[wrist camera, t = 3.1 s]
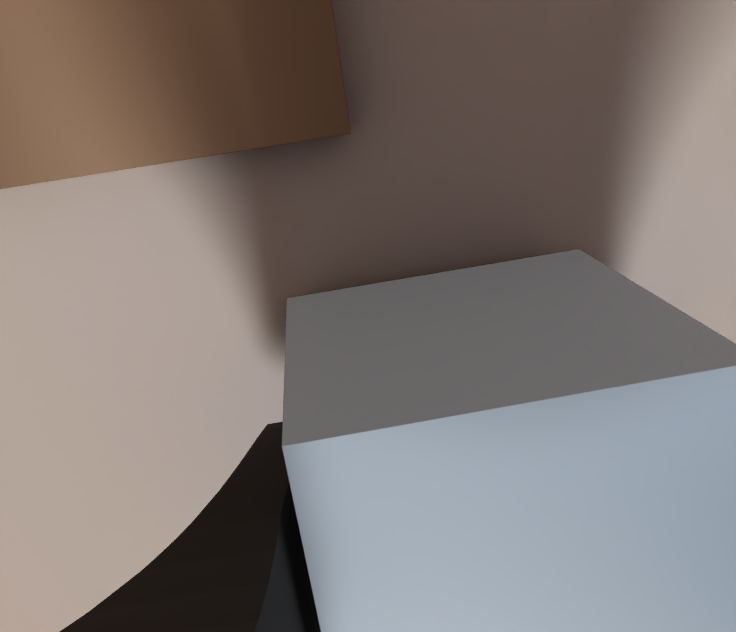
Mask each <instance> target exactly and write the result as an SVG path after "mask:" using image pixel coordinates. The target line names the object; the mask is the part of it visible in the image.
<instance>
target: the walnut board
mask: <svg viewBox="0 0 736 632" xmlns="http://www.w3.org/2000/svg"><path fill="white" fill-rule="evenodd" d="M350 133H351V131H350V125H349V118H348V111H347V105H346V98H345V91H344V84H343V78H342V71H341V64H340V58H339V51H338V44H337V38H336V31H335V24H334V17H333V11H332V4H331V0H0V189H3V188H10V187H16V186H22V185H29V184H35V183H41V182H48V181H54V180H60V179H66V178H73V177H79V176H85V175H92V174H98V173H104V172H111V171H117V170H123V169H129V168H136V167H142V166H148V165H155V164H161V163H167V162H174V161H180V160H186V159H192V158H199V157H205V156H211V155H218V154H224V153H230V152H237V151H243V150H249V149H255V148H262V147H268V146H274V145H281V144H287V143H293V142H299V141H306V140H312V139H318V138H325V137H331V136H337V135H344V134H350Z"/></svg>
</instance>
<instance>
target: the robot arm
mask: <svg viewBox="0 0 736 632" xmlns="http://www.w3.org/2000/svg"><path fill="white" fill-rule="evenodd" d="M282 429H283V422H278V423H273V424H267V426H266V427H265V428H264V430H263V431H262V432H261V434H260V435H259V436H258V438H257V439H256V441H255V442H254V443H253V445H252V446H251V448H250V449H249V451H248V452H247V454H246V455H245V457H244V458H243V459H242V461H241V462H240V464H239V465H238V466H237V468H236V469H235V470H234V472H233V473H232V474H231V476H230V477H229V478H228V480H227V481H226V482H225V484H224V485H223V486H222V488H221V489H220V490H219V492H218V493H217V494H216V495H215V496H214V497H213V499H212V500H211V501H210V502H209V503H208V504H207V506H206V507H205V508H204V509H203V510H202V511H201V513H200V514H199V515H198V516H197V517H196V518H195V520H194V521H193V522H192V523H191V524H190V525H189V526H188V527H187V528H186V529H185V530H184V531H183V532H182V533H181V534H180V535H179V536H178V537H177V538H176V539H175V540H174V541H173V542H172V543H171V544H170V545H169V546H168V547H167V548H166V549H165V550H164V551H163V552H162V553H161V554H159V555H158V556H157V557H156V558H155V559H154V560H153V561H152V562H151V563H150V564H149V565H147V566H146V567H145V568H144V569H143V570H142V571H140V572H139V573H138V574H137V575H135V576H134V577H133V578H132V579H130V580H129V581H128V582H126V583H125V584H124V585H123V586H121V587H120V588H119V589H118V590H116V591H115V592H114V593H112V594H111V595H110V596H109V597H107V598H106V599H105V600H103V601H102V602H101V603H100V604H98V605H97V606H96V607H94V608H93V609H92V610H91V611H89V612H88V613H86V614H85V615H84V616H82V617H81V618H79V619H78V620H76V621H75V622H73V623H72V624H70V625H69V626H67V627H66V628H64V629H63V630H61V631H60V632H321V630H320V625H319V620H318V615H317V611H316V606H315V601H314V596H313V592H312V587H311V582H310V577H309V573H308V568H307V563H306V558H305V554H304V549H303V544H302V539H301V535H300V530H299V525H298V520H297V516H296V511H295V506H294V502H293V497H292V492H291V487H290V483H289V478H288V473H287V468H286V464H285V459H284V454H283V449H282Z"/></svg>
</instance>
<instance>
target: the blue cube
mask: <svg viewBox="0 0 736 632" xmlns="http://www.w3.org/2000/svg"><path fill="white" fill-rule="evenodd" d="M282 449H283V454H284V459H285V464H286V468H287V473H288V478H289V483H290V487H291V492H292V497H293V502H294V506H295V511H296V516H297V520H298V525H299V530H300V535H301V539H302V544H303V549H304V554H305V558H306V563H307V568H308V573H309V577H310V582H311V587H312V592H313V596H314V601H315V606H316V611H317V615H318V620H319V625H320V630H321V632H736V344H735V343H734V342H732V341H730V340H729V339H727V338H725V337H724V336H722V335H720V334H719V333H717V332H715V331H714V330H712V329H710V328H709V327H707V326H705V325H704V324H702V323H701V322H699V321H697V320H696V319H694V318H692V317H691V316H689V315H687V314H686V313H684V312H682V311H681V310H679V309H677V308H676V307H674V306H672V305H671V304H669V303H667V302H666V301H664V300H662V299H661V298H659V297H657V296H656V295H654V294H653V293H651V292H649V291H648V290H646V289H644V288H643V287H641V286H639V285H638V284H636V283H634V282H633V281H631V280H629V279H628V278H626V277H624V276H623V275H621V274H619V273H618V272H616V271H614V270H613V269H611V268H610V267H608V266H606V265H605V264H603V263H601V262H600V261H598V260H596V259H595V258H593V257H591V256H590V255H588V254H586V253H585V252H583V251H581V250H580V249H577V250H571V251H565V252H559V253H553V254H547V255H541V256H535V257H529V258H523V259H517V260H511V261H505V262H499V263H493V264H487V265H482V266H476V267H470V268H464V269H458V270H452V271H446V272H440V273H434V274H428V275H422V276H416V277H410V278H404V279H398V280H392V281H386V282H381V283H375V284H369V285H363V286H357V287H351V288H345V289H339V290H333V291H327V292H321V293H315V294H309V295H303V296H297V297H291V298H287V312H286V341H285V370H284V399H283V429H282Z"/></svg>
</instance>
